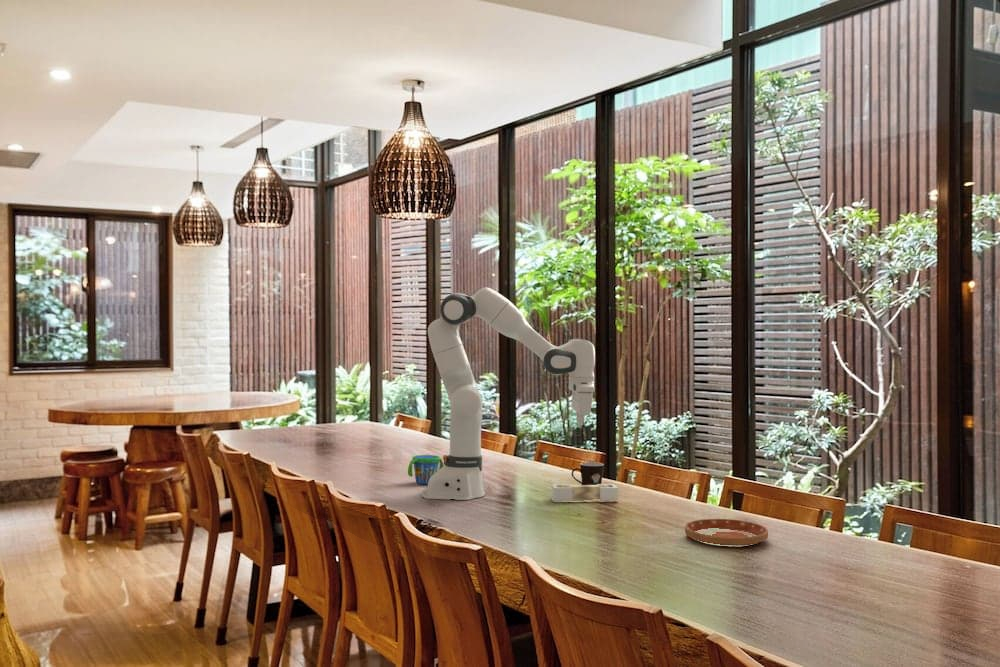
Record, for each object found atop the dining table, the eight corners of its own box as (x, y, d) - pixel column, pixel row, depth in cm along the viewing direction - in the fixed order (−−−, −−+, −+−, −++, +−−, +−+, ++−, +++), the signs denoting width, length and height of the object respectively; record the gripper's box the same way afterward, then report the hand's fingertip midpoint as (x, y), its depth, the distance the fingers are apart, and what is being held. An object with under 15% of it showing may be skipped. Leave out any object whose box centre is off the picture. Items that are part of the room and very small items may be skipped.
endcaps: (554, 502, 290) (554, 488, 290) (551, 498, 297) (551, 484, 296) (618, 502, 291) (618, 487, 291) (613, 498, 298) (614, 484, 298)
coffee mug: (603, 489, 314) (603, 462, 314) (603, 494, 306) (604, 466, 306) (571, 488, 316) (571, 461, 316) (571, 493, 307) (571, 465, 307)
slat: (562, 499, 292) (562, 486, 292) (560, 498, 295) (561, 485, 295) (608, 499, 293) (608, 486, 293) (606, 497, 296) (606, 484, 296)
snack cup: (436, 479, 332) (436, 453, 332) (450, 483, 324) (451, 456, 323) (401, 483, 323) (401, 456, 323) (415, 487, 314) (415, 460, 314)
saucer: (709, 552, 228) (710, 539, 228) (670, 532, 250) (671, 520, 250) (784, 547, 234) (784, 534, 234) (740, 528, 256) (740, 516, 256)
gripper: (568, 383, 306) (566, 421, 306) (576, 387, 286) (575, 428, 286) (585, 383, 307) (584, 421, 307) (595, 387, 286) (594, 428, 286)
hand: (580, 425), depth 296 cm, fingers closed
